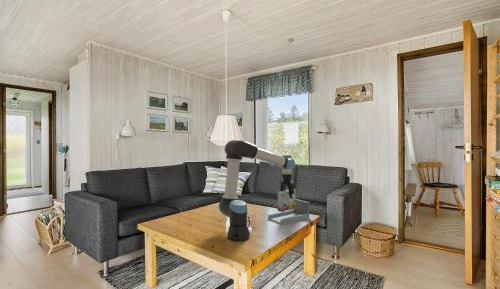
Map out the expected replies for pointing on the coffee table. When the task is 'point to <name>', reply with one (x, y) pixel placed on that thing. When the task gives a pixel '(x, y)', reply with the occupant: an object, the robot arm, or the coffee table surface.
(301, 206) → the shelf
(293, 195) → the snack box
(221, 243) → the coffee table surface
